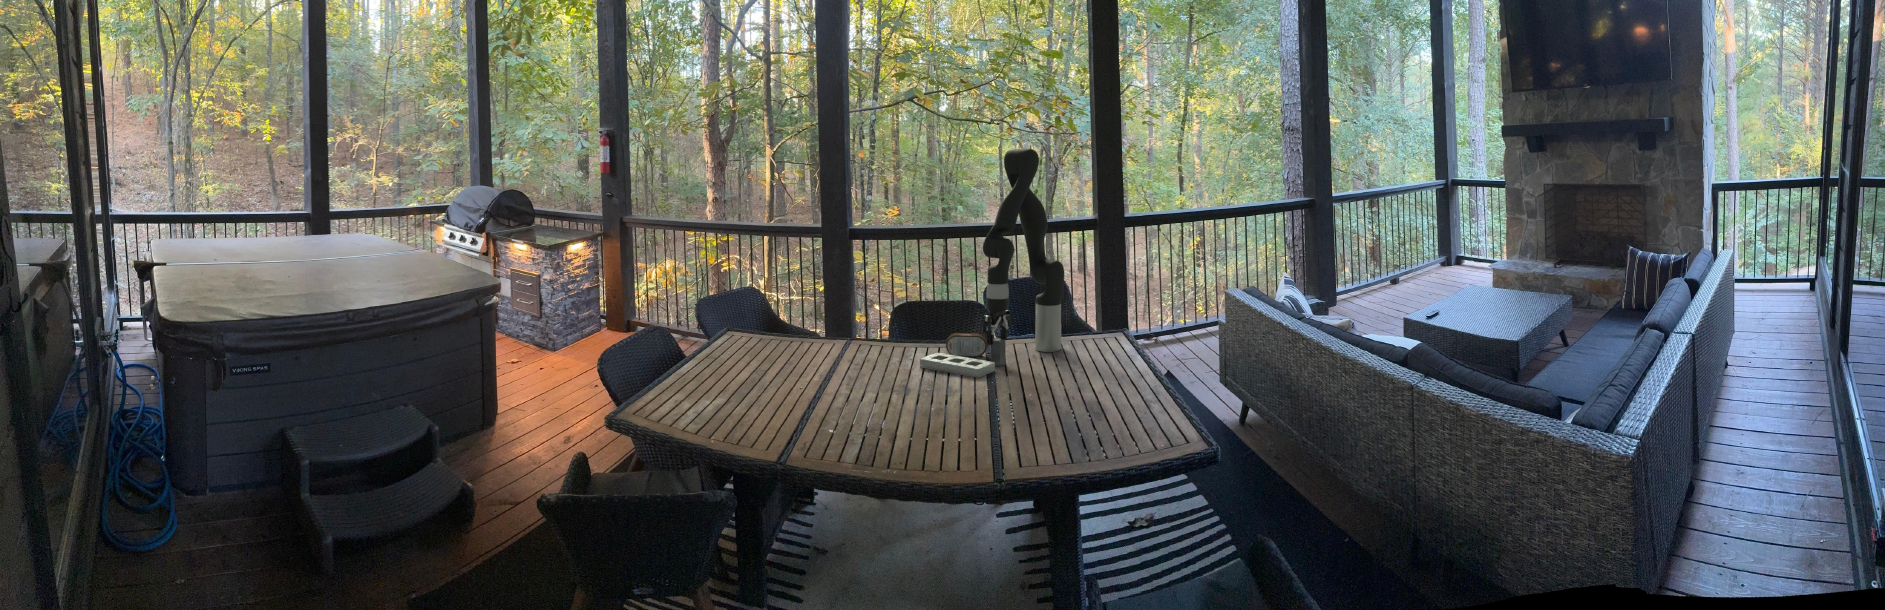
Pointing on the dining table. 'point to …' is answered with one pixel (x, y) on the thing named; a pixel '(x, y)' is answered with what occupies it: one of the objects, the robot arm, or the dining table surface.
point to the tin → (966, 344)
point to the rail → (957, 365)
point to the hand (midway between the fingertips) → (996, 342)
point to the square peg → (998, 352)
